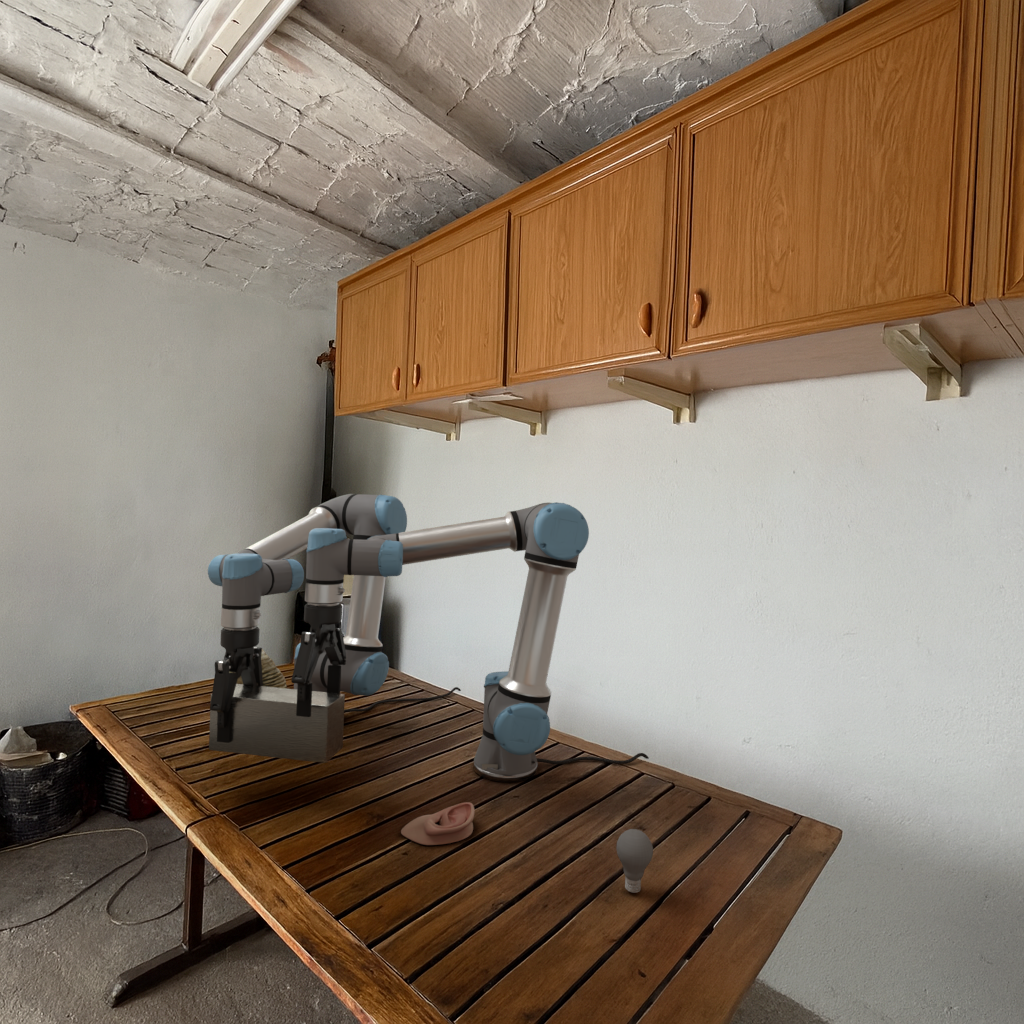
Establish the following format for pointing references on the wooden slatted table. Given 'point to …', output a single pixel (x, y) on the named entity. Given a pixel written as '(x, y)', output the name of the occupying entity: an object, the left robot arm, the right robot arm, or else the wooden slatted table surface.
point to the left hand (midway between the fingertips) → (236, 733)
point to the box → (282, 724)
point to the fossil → (269, 673)
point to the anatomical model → (442, 825)
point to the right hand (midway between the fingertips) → (319, 705)
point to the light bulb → (634, 857)
